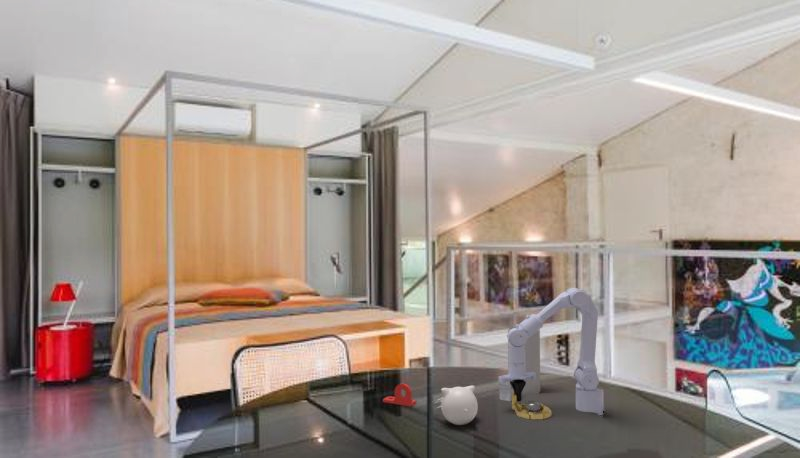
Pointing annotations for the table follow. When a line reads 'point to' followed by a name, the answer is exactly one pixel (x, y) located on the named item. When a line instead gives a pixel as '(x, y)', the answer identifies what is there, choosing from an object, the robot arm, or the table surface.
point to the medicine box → (506, 391)
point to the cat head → (459, 404)
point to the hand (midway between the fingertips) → (517, 400)
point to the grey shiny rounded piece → (533, 406)
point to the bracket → (399, 398)
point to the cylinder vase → (531, 362)
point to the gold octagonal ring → (524, 413)
